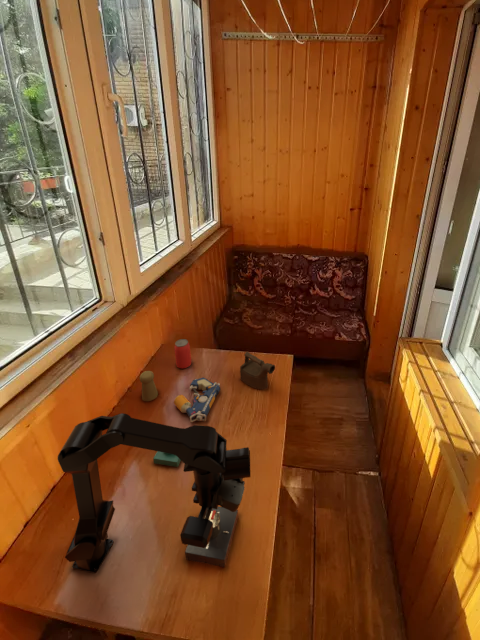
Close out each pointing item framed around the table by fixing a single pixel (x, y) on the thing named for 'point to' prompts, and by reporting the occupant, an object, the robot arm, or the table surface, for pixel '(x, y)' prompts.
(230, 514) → the black flat block
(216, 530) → the nozzle dial
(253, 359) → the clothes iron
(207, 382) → the toy gun
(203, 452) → the robot arm
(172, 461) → the green block
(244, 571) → the table surface
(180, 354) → the beer can
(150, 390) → the cork
